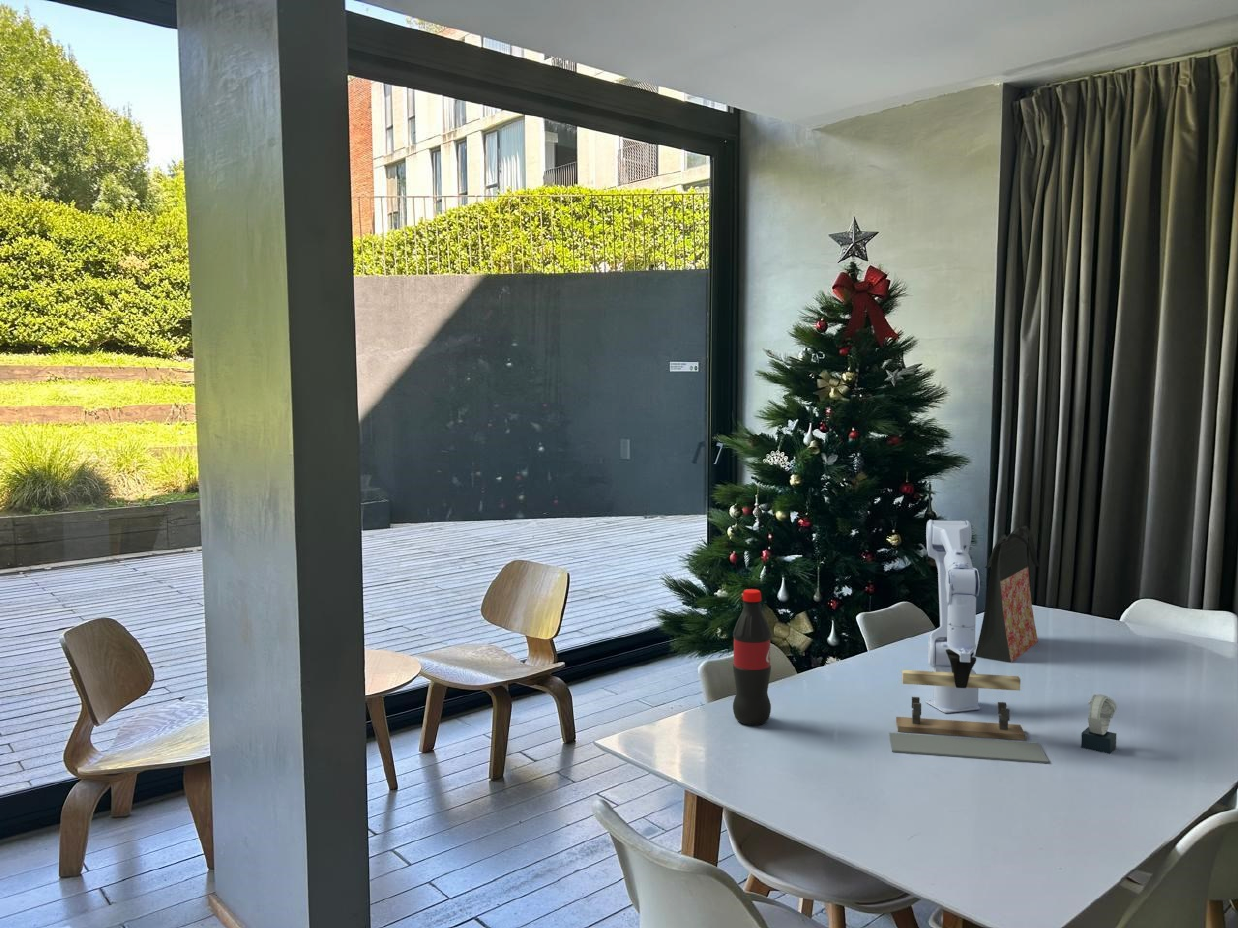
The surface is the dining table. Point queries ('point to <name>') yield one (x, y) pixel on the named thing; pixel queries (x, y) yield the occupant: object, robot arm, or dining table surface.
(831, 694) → the dining table surface
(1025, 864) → the dining table surface
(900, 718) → the rack
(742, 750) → the dining table surface
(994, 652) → the gift bag
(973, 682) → the rail
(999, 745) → the mat
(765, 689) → the cola bottle
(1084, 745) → the watch
